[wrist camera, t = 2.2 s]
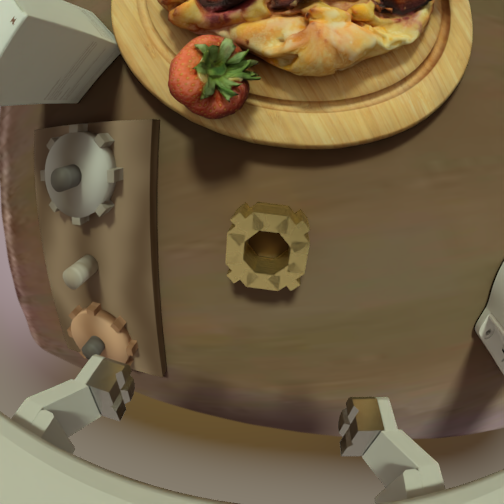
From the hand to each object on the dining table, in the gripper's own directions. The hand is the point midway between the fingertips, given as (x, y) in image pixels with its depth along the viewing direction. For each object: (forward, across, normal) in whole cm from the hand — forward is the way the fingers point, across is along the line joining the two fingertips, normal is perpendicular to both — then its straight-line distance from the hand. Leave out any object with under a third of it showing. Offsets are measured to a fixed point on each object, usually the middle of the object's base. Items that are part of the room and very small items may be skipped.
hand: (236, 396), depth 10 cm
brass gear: (+17, 0, 0) cm, 17 cm away
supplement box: (+17, +19, -16) cm, 30 cm away
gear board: (+17, +17, +4) cm, 24 cm away
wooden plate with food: (+17, 0, -24) cm, 29 cm away
